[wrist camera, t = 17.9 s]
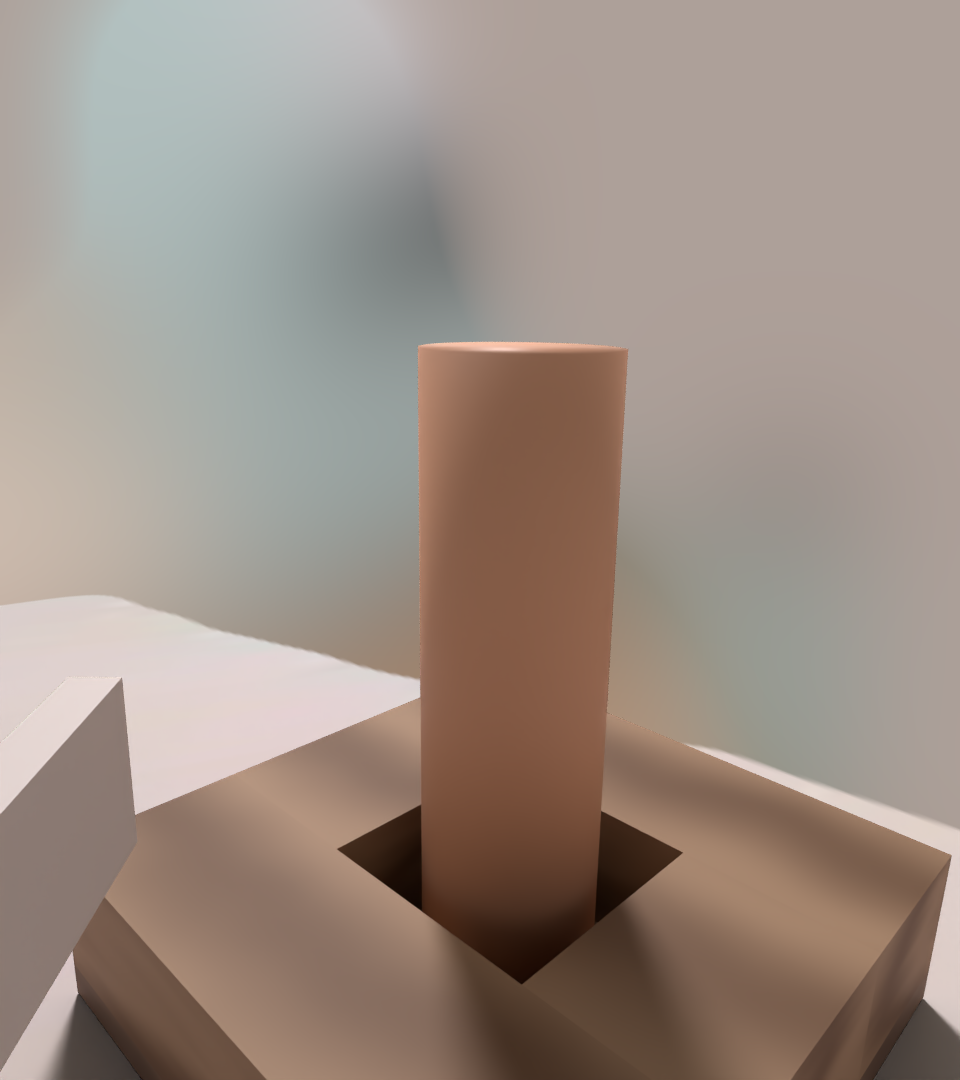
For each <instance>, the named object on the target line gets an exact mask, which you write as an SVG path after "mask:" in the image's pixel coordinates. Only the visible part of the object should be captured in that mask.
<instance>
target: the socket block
mask: <svg viewBox="0 0 960 1080" xmlns="http://www.w3.org/2000/svg"><path fill="white" fill-rule="evenodd" d="M135 821H136V832H137V843H136V845H135V847H134V848H133V850H132V852H131V853H130V855H129V857H128V858H127V860H126V862H125V863H124V865H123V867H122V868H121V870H120V872H119V873H118V875H117V877H116V878H115V880H114V882H113V883H112V885H111V887H110V888H109V890H108V892H107V894H106V895H105V897H104V899H103V900H102V902H101V904H100V905H99V907H98V909H97V910H96V912H95V914H94V915H93V917H92V919H91V920H90V922H89V924H88V925H87V927H86V929H85V930H84V932H83V934H82V935H81V937H80V939H79V940H78V942H77V944H76V946H75V947H74V949H73V957H74V965H75V973H76V981H77V989H78V993H79V994H80V995H81V997H82V998H83V999H84V1001H85V1002H86V1004H87V1005H88V1006H89V1008H90V1009H91V1010H92V1012H93V1013H94V1014H95V1016H96V1017H97V1019H98V1020H99V1021H100V1023H101V1024H102V1025H103V1027H104V1028H105V1029H106V1031H107V1032H108V1034H109V1035H110V1036H111V1038H112V1039H113V1040H114V1042H115V1043H116V1044H117V1046H118V1047H119V1049H120V1050H121V1051H122V1053H123V1054H124V1055H125V1057H126V1058H127V1059H128V1061H129V1062H130V1064H131V1065H132V1066H133V1068H134V1069H135V1070H136V1072H137V1073H138V1074H139V1076H140V1077H141V1079H142V1080H873V1079H874V1077H875V1076H876V1074H877V1072H878V1071H879V1069H880V1067H881V1066H882V1064H883V1063H884V1061H885V1059H886V1058H887V1056H888V1054H889V1053H890V1051H891V1049H892V1048H893V1046H894V1044H895V1043H896V1041H897V1040H898V1038H899V1036H900V1035H901V1033H902V1031H903V1030H904V1028H905V1026H906V1025H907V1023H908V1021H909V1020H910V1018H911V1017H912V1015H913V1013H914V1012H915V1010H916V1008H917V1007H918V1005H919V1003H920V1002H921V1000H922V999H923V996H924V991H925V986H926V981H927V976H928V971H929V966H930V961H931V956H932V951H933V946H934V941H935V936H936V931H937V926H938V921H939V916H940V911H941V906H942V901H943V896H944V891H945V886H946V881H947V876H948V871H949V866H950V861H951V856H952V855H950V854H947V853H945V852H942V851H940V850H938V849H935V848H933V847H930V846H928V845H925V844H923V843H921V842H918V841H916V840H913V839H911V838H909V837H906V836H904V835H901V834H899V833H897V832H894V831H892V830H889V829H887V828H884V827H882V826H880V825H877V824H875V823H872V822H870V821H868V820H865V819H863V818H860V817H858V816H855V815H853V814H851V813H848V812H846V811H843V810H841V809H839V808H836V807H834V806H831V805H829V804H827V803H824V802H822V801H819V800H817V799H814V798H812V797H810V796H807V795H805V794H802V793H800V792H798V791H795V790H793V789H790V788H788V787H785V786H783V785H781V784H778V783H776V782H773V781H771V780H769V779H766V778H764V777H761V776H759V775H757V774H754V773H752V772H749V771H747V770H744V769H742V768H740V767H737V766H735V765H732V764H730V763H728V762H725V761H723V760H720V759H718V758H716V757H713V756H711V755H708V754H706V753H703V752H701V751H699V750H696V749H694V748H691V747H689V746H687V745H684V744H682V743H679V742H677V741H674V740H672V739H669V738H667V737H665V736H662V735H660V734H657V733H655V732H653V731H650V730H648V729H646V728H643V727H641V726H638V725H636V724H633V723H631V722H628V721H626V720H624V719H621V718H619V717H617V716H614V715H612V714H609V713H607V718H606V735H605V753H604V770H603V787H602V804H601V821H600V838H599V855H598V873H597V890H596V907H595V924H594V926H593V927H592V928H591V929H589V930H588V931H587V932H586V933H584V934H583V935H582V936H581V937H580V938H578V939H577V940H576V941H575V942H573V943H572V944H571V945H570V946H569V947H567V948H566V949H565V950H564V951H562V952H561V953H560V954H559V955H558V956H556V957H555V958H554V959H553V960H551V961H550V962H549V963H548V964H547V965H545V966H544V967H543V968H542V969H540V970H539V971H538V972H537V973H535V974H534V975H533V976H532V977H531V978H529V979H528V980H527V981H526V982H524V983H523V984H520V983H519V982H517V981H516V980H515V979H513V978H512V977H511V976H509V975H508V974H507V973H505V972H504V971H502V970H501V969H500V968H498V967H497V966H496V965H494V964H493V963H491V962H490V961H489V960H487V959H486V958H485V957H483V956H482V955H481V954H479V953H478V952H476V951H475V950H474V949H472V948H471V947H470V946H468V945H467V944H465V943H464V942H463V941H461V940H460V939H459V938H457V937H456V936H455V935H453V934H452V933H450V932H449V931H448V930H446V929H445V928H444V927H442V926H441V925H440V924H438V923H437V922H435V921H434V920H433V919H431V918H430V917H429V916H427V915H426V914H424V913H423V912H422V843H421V700H420V698H418V699H415V700H413V701H410V702H408V703H406V704H403V705H401V706H398V707H396V708H394V709H391V710H389V711H386V712H384V713H381V714H379V715H377V716H374V717H372V718H369V719H367V720H364V721H362V722H360V723H357V724H355V725H352V726H350V727H347V728H345V729H343V730H340V731H338V732H335V733H333V734H331V735H328V736H326V737H323V738H321V739H318V740H316V741H314V742H311V743H309V744H306V745H304V746H301V747H299V748H297V749H294V750H292V751H289V752H287V753H284V754H282V755H280V756H277V757H275V758H272V759H270V760H268V761H265V762H263V763H260V764H258V765H255V766H253V767H251V768H248V769H246V770H243V771H241V772H238V773H236V774H234V775H231V776H229V777H226V778H224V779H221V780H219V781H217V782H214V783H212V784H209V785H207V786H205V787H202V788H200V789H197V790H195V791H192V792H190V793H188V794H185V795H183V796H180V797H178V798H175V799H173V800H171V801H168V802H166V803H163V804H161V805H158V806H156V807H154V808H151V809H149V810H146V811H144V812H142V813H139V814H137V815H135Z"/></svg>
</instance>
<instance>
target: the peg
mask: <svg viewBox="0 0 960 1080" xmlns="http://www.w3.org/2000/svg"><path fill="white" fill-rule="evenodd" d="M627 357H628V349H626V348H621V347H613V346H603V345H587V344H569V343H538V342H457V343H435V344H425V345H420V346H418V401H419V404H418V408H419V409H418V413H419V414H418V415H419V546H420V547H419V551H420V552H419V554H420V555H419V557H420V700H421V843H422V912H423V913H424V914H426V915H427V916H429V917H430V918H431V919H433V920H434V921H435V922H437V923H438V924H440V925H441V926H442V927H444V928H445V929H446V930H448V931H449V932H450V933H452V934H453V935H455V936H456V937H457V938H459V939H460V940H461V941H463V942H464V943H465V944H467V945H468V946H470V947H471V948H472V949H474V950H475V951H476V952H478V953H479V954H481V955H482V956H483V957H485V958H486V959H487V960H489V961H490V962H491V963H493V964H494V965H496V966H497V967H498V968H500V969H501V970H502V971H504V972H505V973H507V974H508V975H509V976H511V977H512V978H513V979H515V980H516V981H517V982H519V983H520V984H523V983H524V982H526V981H527V980H528V979H529V978H531V977H532V976H533V975H534V974H535V973H537V972H538V971H539V970H540V969H542V968H543V967H544V966H545V965H547V964H548V963H549V962H550V961H551V960H553V959H554V958H555V957H556V956H558V955H559V954H560V953H561V952H562V951H564V950H565V949H566V948H567V947H569V946H570V945H571V944H572V943H573V942H575V941H576V940H577V939H578V938H580V937H581V936H582V935H583V934H584V933H586V932H587V931H588V930H589V929H591V928H592V927H593V926H594V924H595V907H596V890H597V873H598V855H599V838H600V821H601V804H602V787H603V770H604V753H605V735H606V718H607V701H608V684H609V683H608V682H609V667H610V650H611V632H612V615H613V598H614V581H615V564H616V545H617V528H618V512H619V495H620V477H621V459H622V444H623V425H624V409H625V393H626V376H627Z"/></svg>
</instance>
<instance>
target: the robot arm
mask: <svg viewBox="0 0 960 1080" xmlns="http://www.w3.org/2000/svg"><path fill="white" fill-rule="evenodd" d="M136 843H137V832H136V821H135V811H134V800H133V789H132V779H131V768H130V758H129V747H128V736H127V726H126V715H125V704H124V694H123V683H122V678H121V677H70V676H69V677H67V678H66V679H65V680H64V681H63V682H62V683H61V684H60V685H59V686H58V687H57V688H56V689H55V690H54V691H53V692H52V693H51V694H50V695H49V696H48V697H47V698H46V699H45V700H44V701H43V702H42V703H41V704H40V705H39V706H38V707H37V708H36V709H34V710H33V711H32V712H31V713H30V714H29V715H28V716H27V717H26V718H25V719H24V720H23V721H22V722H21V723H20V724H19V725H18V726H17V727H16V728H15V729H14V730H13V731H12V732H11V733H10V734H9V735H8V736H7V737H6V738H5V739H4V740H3V741H1V742H0V1071H1V1070H2V1068H3V1066H4V1065H5V1063H6V1061H7V1060H8V1058H9V1056H10V1055H11V1053H12V1051H13V1050H14V1048H15V1046H16V1044H17V1043H18V1041H19V1039H20V1038H21V1036H22V1034H23V1033H24V1031H25V1029H26V1028H27V1026H28V1024H29V1023H30V1021H31V1019H32V1018H33V1016H34V1014H35V1013H36V1011H37V1009H38V1008H39V1006H40V1004H41V1003H42V1001H43V999H44V998H45V996H46V994H47V992H48V991H49V989H50V987H51V986H52V984H53V982H54V981H55V979H56V977H57V976H58V974H59V972H60V971H61V969H62V967H63V966H64V964H65V962H66V961H67V959H68V957H69V956H70V954H71V952H72V951H73V949H74V947H75V946H76V944H77V942H78V940H79V939H80V937H81V935H82V934H83V932H84V930H85V929H86V927H87V925H88V924H89V922H90V920H91V919H92V917H93V915H94V914H95V912H96V910H97V909H98V907H99V905H100V904H101V902H102V900H103V899H104V897H105V895H106V894H107V892H108V890H109V888H110V887H111V885H112V883H113V882H114V880H115V878H116V877H117V875H118V873H119V872H120V870H121V868H122V867H123V865H124V863H125V862H126V860H127V858H128V857H129V855H130V853H131V852H132V850H133V848H134V847H135V845H136Z"/></svg>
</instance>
